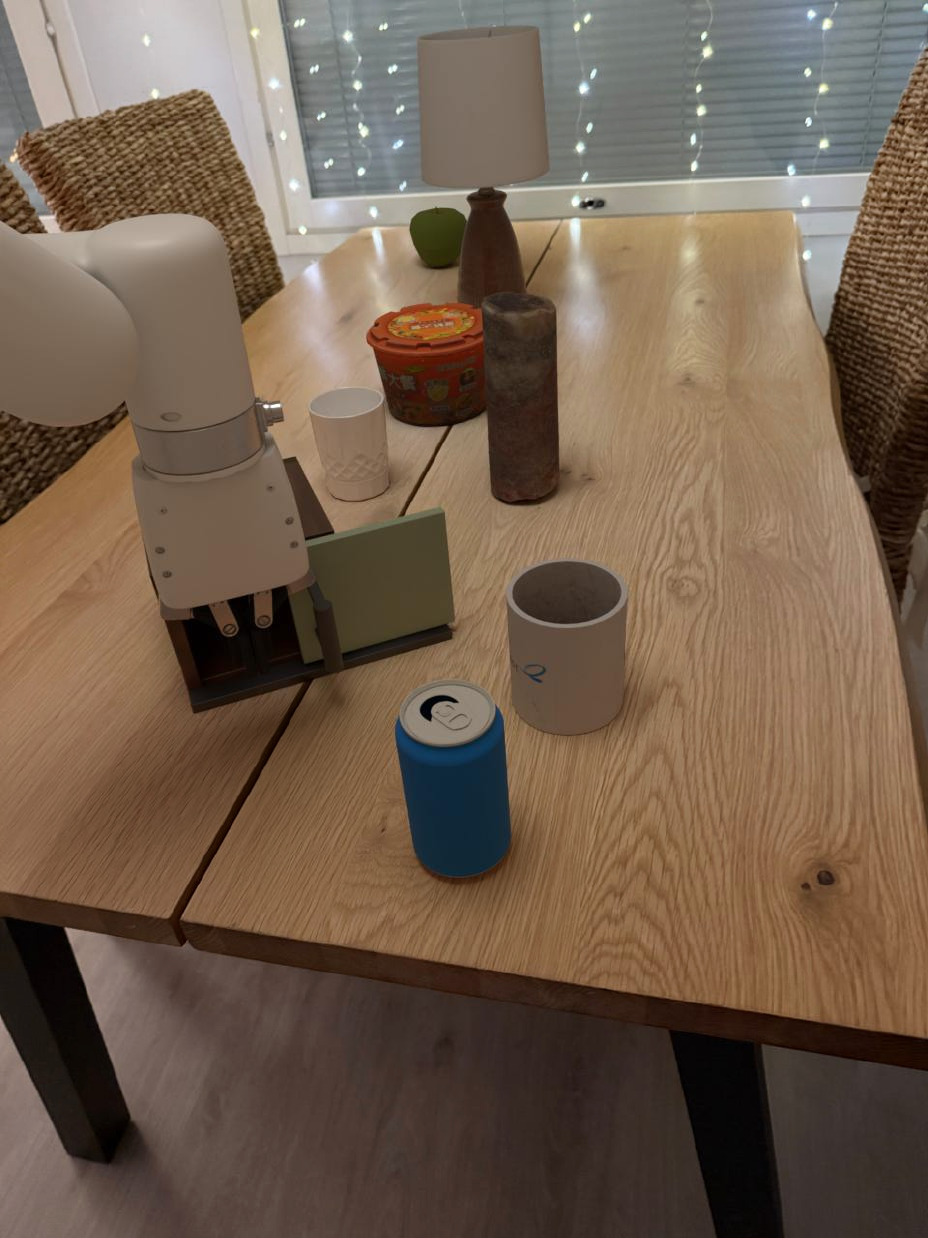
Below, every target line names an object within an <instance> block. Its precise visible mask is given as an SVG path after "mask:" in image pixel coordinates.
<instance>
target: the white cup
mask: <svg viewBox="0 0 928 1238" xmlns="http://www.w3.org/2000/svg"><path fill="white" fill-rule="evenodd" d="M385 407H386V406H385V396H384V393H382V392H381V391H379V390H378V389H375V388H372V387H369V386H357V385H354V386H353V385H352V386H351V385H350V386H342V387H337V388H332V389H329V390H325V391H323V392H321V393H319V394H317V395H315V396H314V397H313V398H311V399H310V400H309V402H308V404H307V409H308V414H309V418H310V423H311V427H312V432H313V436H314V440H315V444H316V448H317V452H318V455H319V460H320V464H321V467H322V470H323V471H324V475H325V480H326V481H325V482H326V485H327V490H328V493H329V494H331V496H332V497H334V498H335V499H338V500H342V501H345V502H360V501H365V500H369V499H372V498H376V497H378V496H379V495H381V494H383V493H384V492H385V491H386V490H387V489H388V488H389V486H390V480H389V479H390V478H389V444H388V433H387V420H386V409H385Z"/></svg>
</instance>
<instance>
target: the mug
mask: <svg viewBox="0 0 928 1238" xmlns="http://www.w3.org/2000/svg"><path fill="white" fill-rule="evenodd" d="M628 591H629V590H628V587H627V583H626V582H625V580H624V579H623V577H622V576H621V575H620V574H619V573H618V572H617V571H616V570H614V569H612V568H611V567H609V566H607V565H604V564H602V563H600V562H597V561H593V560H590V559H583V558H578V557H577V558H576V557H574V558H573V557H562V558H552V559H547V560H542V561H538V562H535V563H533V564H530V565H528V566H526V567H524V568H523V569H521V570H520V571H518V572H516V574H514V576H513V577H512V578H511V579H510V580H509V583H508V584H507V587H506V591H505V597H506V614H507V615H506V617H507V632H508V650H509V651H508V652H509V668H510V669H509V671H510V688H511V701H512V702H511V703H512V707H513V708H514V711H515V712H516V714H517V716H518V717H519V718H520V719H521V720H522V721H524V722H525V723H526V724H528V725H529V726H531V727H532V728H534V729H537V730H539V731H542V732H544V733H547V734H548V733H549V734H553V735H561V736H575V735H583V734H588V733H592V732H594V731H597V730H600V729H602V728H603V727H605V726H607V725H608V724H610V723H611V722H612V721H613V720H615V719H616V718H617V716H618V715H619V714H620V712H621V709H622V707H623V704H624V688H625V667H626V666H625V664H626V663H625V662H626V642H627V641H626V640H627V639H626V638H627V617H628V616H627V615H628V614H627V613H628V593H629V592H628Z"/></svg>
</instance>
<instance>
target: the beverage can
mask: <svg viewBox="0 0 928 1238" xmlns="http://www.w3.org/2000/svg"><path fill="white" fill-rule="evenodd" d="M504 721H505V720H504V716H503V714H502V712H501V709H500V708H499V707H498V705H497V704H496V702H495V700H494V697H493V696H492V694H491V693H490V692H489V691H488V690H487V689H486V688H484V687H483V686H481V685H480V684H478V683H475V682H474V681H470V680H466V679H461V678H443V679H436V680H433V681H430V682H426V683H424V684H421V685H420V686H418V687H416V688H415V689H413V690H412V691H411V692H410V693H408V695H407V696H406V697H405V698H404V700H403V702H402V703H401V705H400V709H399V714H398V717H397V720H396V722H395V725H394V739H395V744H396V750H397V754H398V755H397V756H398V762H399V768H400V775H401V780H402V787H403V794H404V799H405V806H406V811H407V818H408V823H409V829H410V836H411V842H412V848H413V851H414V854H415V856H416V858H417V859H418V860H419V861H420V863H421V864H422V865H423V866H424V867H426V868H427V869H428V870H430V871H432V872H433V873H435V874H438V875H440V876H445V877H449V878H469V877H474V876H477V875H480V874H483V873H486V872H487V871H489V870H491V869H492V868H494V867H495V866H496V865H498V864H499V863H500V862H501V861H502V860H503V858H504V857H505V856H506V854H507V853H508V850H509V848H510V846H511V842H512V828H511V827H512V826H511V825H512V823H511V810H510V797H509V796H510V795H509V781H508V779H509V778H508V764H507V763H508V762H507V748H506V735H505V722H504Z"/></svg>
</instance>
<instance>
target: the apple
mask: <svg viewBox="0 0 928 1238" xmlns="http://www.w3.org/2000/svg"><path fill="white" fill-rule="evenodd" d="M467 220H468V219H467V218H466V215H465V214H464V213H462V212H460V211H459V210H458V209H456V208H453V207H437V206H435V207H433V208H429V209H424V210H420V211H418V212H416V213H415V215H413V216H412V218H411V219H410V223H409V230H408V231H409V234H410V238H411V242H412V245H413V247H414V249H415V251H416V252H417V255H418V256H419V259H420V260H422V262H424V263H426V264H427V265H429V266H430V267H432V268H443V267H447V266H450V265H452V264H453V263H454V262H455V261H456V260H457V259H460V251H461V244H462V238H463V234H464V230H465V226H466V223H467Z"/></svg>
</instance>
